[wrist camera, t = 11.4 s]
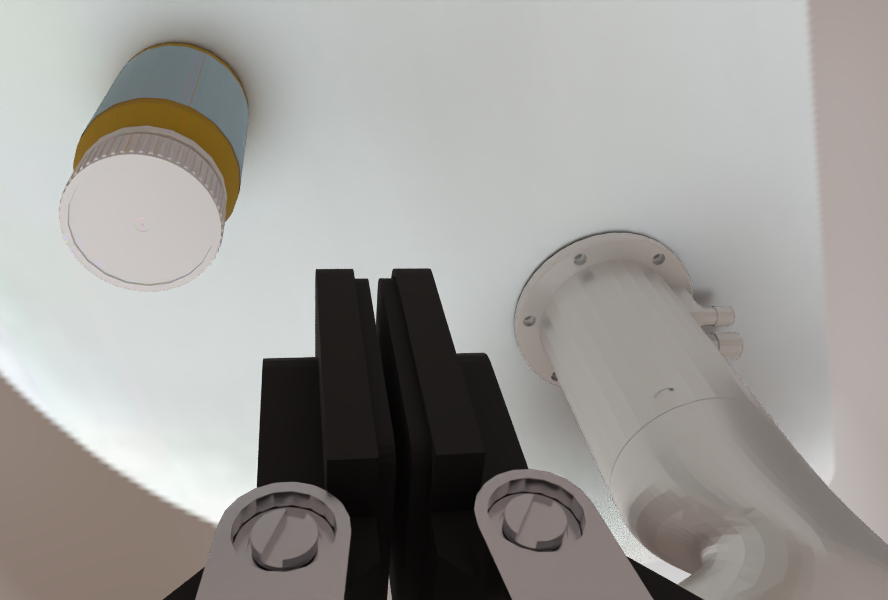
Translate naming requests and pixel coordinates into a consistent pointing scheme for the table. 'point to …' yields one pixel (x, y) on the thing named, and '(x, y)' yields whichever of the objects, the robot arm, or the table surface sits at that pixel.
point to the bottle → (157, 170)
